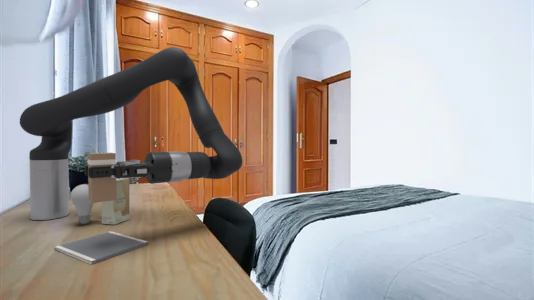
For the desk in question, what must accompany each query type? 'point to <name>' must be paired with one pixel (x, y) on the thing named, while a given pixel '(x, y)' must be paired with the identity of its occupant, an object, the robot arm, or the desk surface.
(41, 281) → the desk surface
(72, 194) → the lightbulb
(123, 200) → the skincare box
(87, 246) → the mat
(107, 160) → the card box
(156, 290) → the desk surface
